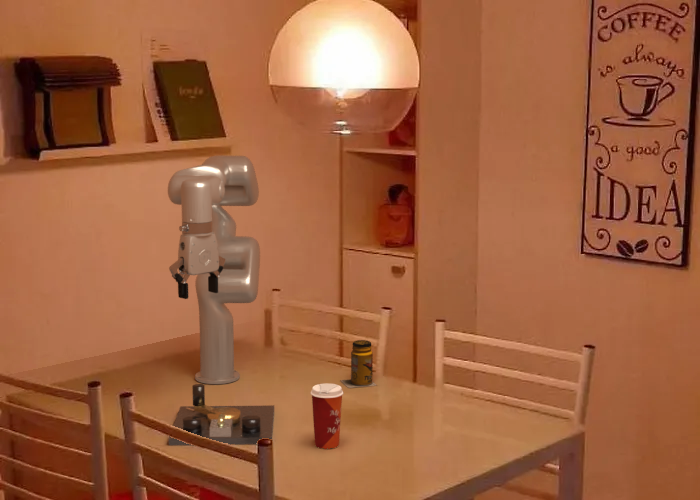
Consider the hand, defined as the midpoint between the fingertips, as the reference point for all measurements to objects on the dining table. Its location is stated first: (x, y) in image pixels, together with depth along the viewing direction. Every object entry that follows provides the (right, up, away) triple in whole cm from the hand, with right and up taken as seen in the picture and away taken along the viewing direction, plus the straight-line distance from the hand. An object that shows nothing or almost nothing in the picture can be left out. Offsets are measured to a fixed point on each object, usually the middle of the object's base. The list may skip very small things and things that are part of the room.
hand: (198, 295), depth 265 cm
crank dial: (+5, -30, -6) cm, 31 cm away
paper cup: (+33, -34, -20) cm, 52 cm away
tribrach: (+8, -32, -8) cm, 34 cm away
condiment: (+41, -26, +29) cm, 56 cm away
